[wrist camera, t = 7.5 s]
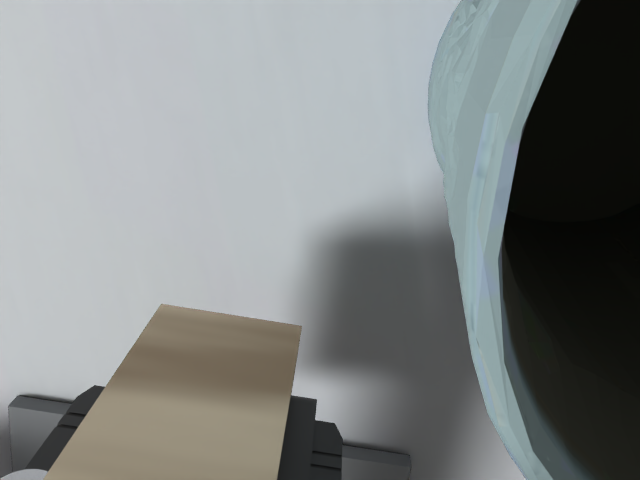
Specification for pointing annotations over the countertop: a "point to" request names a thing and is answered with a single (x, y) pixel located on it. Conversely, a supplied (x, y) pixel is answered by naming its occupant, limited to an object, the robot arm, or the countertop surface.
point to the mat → (43, 415)
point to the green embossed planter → (547, 223)
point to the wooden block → (190, 403)
